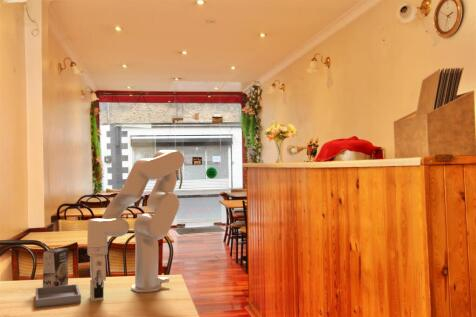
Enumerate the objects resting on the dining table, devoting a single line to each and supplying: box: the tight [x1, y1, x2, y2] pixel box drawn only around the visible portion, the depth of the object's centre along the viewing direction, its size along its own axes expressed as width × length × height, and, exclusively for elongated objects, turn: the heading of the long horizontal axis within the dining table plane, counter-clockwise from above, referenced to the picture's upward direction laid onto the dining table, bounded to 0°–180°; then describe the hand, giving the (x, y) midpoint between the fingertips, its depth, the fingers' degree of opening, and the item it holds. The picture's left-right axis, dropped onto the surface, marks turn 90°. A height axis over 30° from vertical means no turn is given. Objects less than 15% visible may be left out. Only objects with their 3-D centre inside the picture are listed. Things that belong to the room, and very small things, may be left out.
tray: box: [35, 283, 82, 309], centre depth 173 cm, size 16×16×3 cm
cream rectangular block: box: [89, 279, 105, 302], centre depth 175 cm, size 4×4×7 cm
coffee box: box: [42, 247, 69, 288], centre depth 188 cm, size 9×6×16 cm
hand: (96, 294), depth 175 cm, fingers open, 9 cm apart
